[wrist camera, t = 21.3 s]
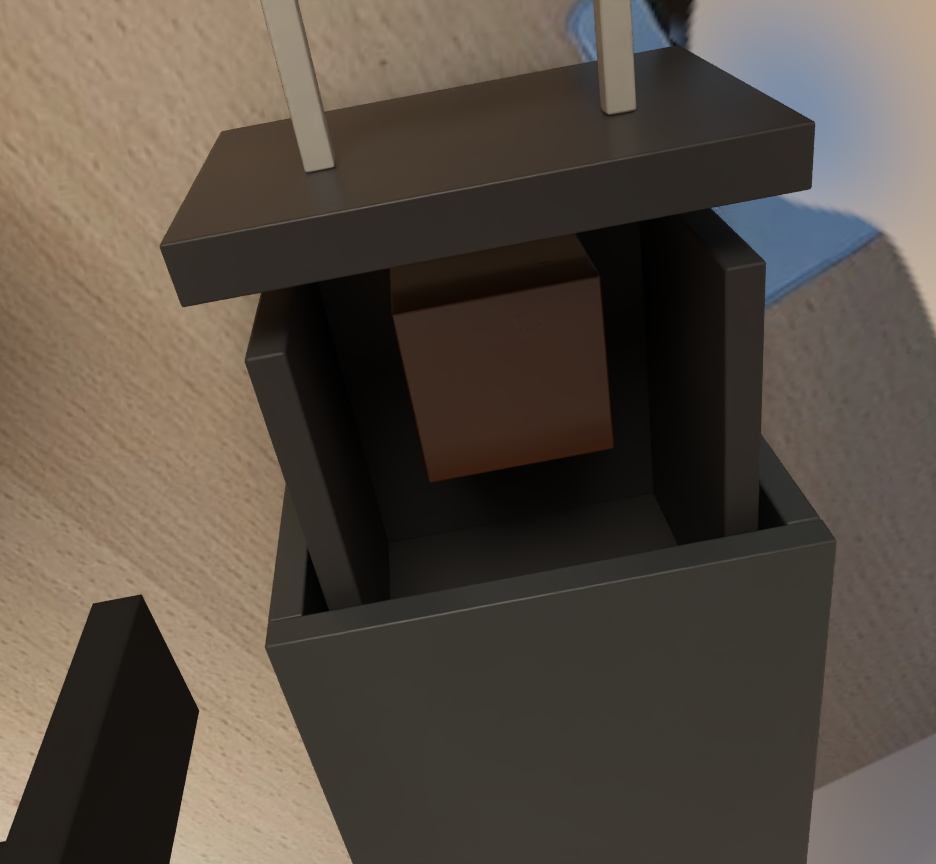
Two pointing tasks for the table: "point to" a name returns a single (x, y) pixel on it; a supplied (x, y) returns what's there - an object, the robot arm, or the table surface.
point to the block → (504, 356)
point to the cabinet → (573, 701)
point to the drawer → (483, 228)
